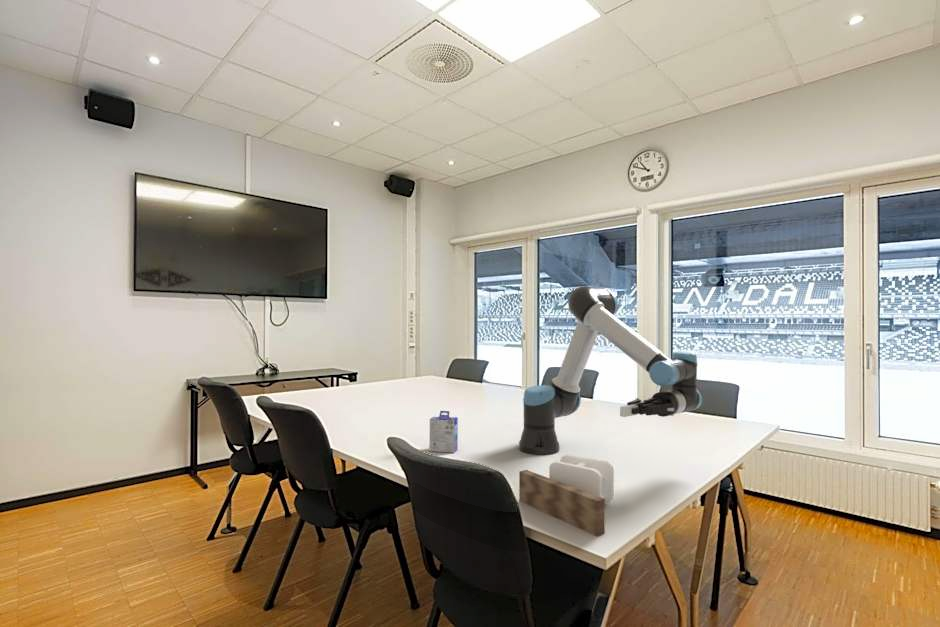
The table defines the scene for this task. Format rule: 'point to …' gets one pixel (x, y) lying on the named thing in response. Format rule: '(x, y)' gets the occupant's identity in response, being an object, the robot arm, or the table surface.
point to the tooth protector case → (585, 475)
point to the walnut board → (563, 502)
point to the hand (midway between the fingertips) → (622, 411)
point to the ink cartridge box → (444, 433)
